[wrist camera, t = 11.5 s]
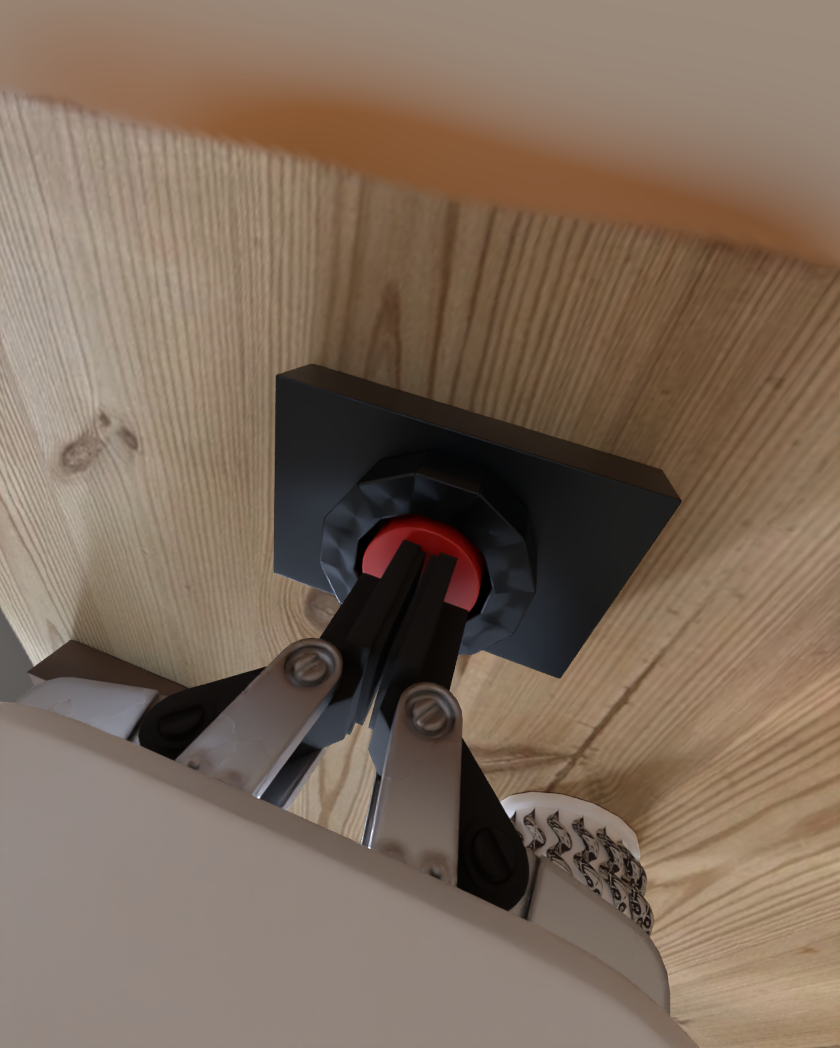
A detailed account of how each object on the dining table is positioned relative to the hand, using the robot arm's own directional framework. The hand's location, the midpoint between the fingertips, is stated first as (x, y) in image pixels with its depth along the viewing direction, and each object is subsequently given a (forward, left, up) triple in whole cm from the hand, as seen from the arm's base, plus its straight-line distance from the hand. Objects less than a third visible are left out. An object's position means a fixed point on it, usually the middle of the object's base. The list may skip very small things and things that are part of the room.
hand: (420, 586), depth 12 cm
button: (0, 0, -2) cm, 2 cm away
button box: (0, 0, -4) cm, 4 cm away
